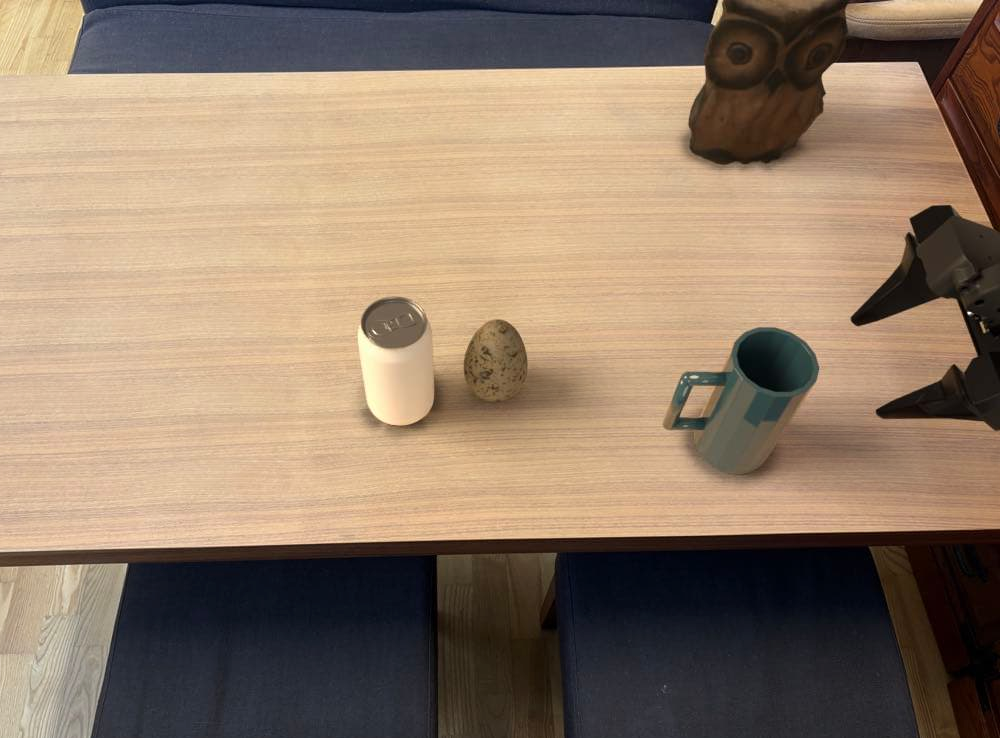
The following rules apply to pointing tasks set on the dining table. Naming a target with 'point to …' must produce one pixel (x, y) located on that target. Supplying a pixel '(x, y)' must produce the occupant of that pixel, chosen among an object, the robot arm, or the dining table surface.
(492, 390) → the decorative egg
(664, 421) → the teal mug
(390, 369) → the can
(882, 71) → the dining table surface
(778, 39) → the owl
